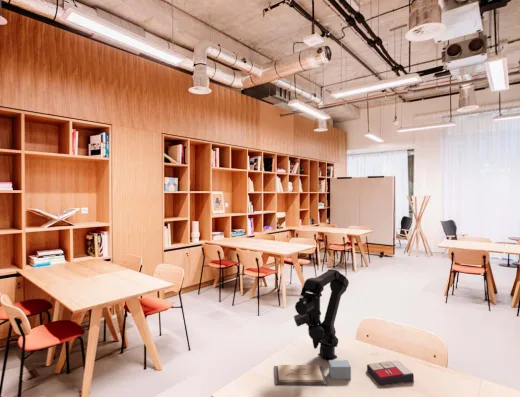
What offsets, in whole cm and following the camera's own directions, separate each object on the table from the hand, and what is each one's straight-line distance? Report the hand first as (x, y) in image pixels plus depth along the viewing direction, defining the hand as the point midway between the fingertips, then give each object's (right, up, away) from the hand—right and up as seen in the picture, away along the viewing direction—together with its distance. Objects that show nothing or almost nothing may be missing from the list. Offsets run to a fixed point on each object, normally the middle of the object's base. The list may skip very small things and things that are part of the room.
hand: (313, 343), depth 139 cm
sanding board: (-7, -11, -6) cm, 14 cm away
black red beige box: (+31, -12, -6) cm, 34 cm away
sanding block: (+10, -11, -6) cm, 16 cm away
